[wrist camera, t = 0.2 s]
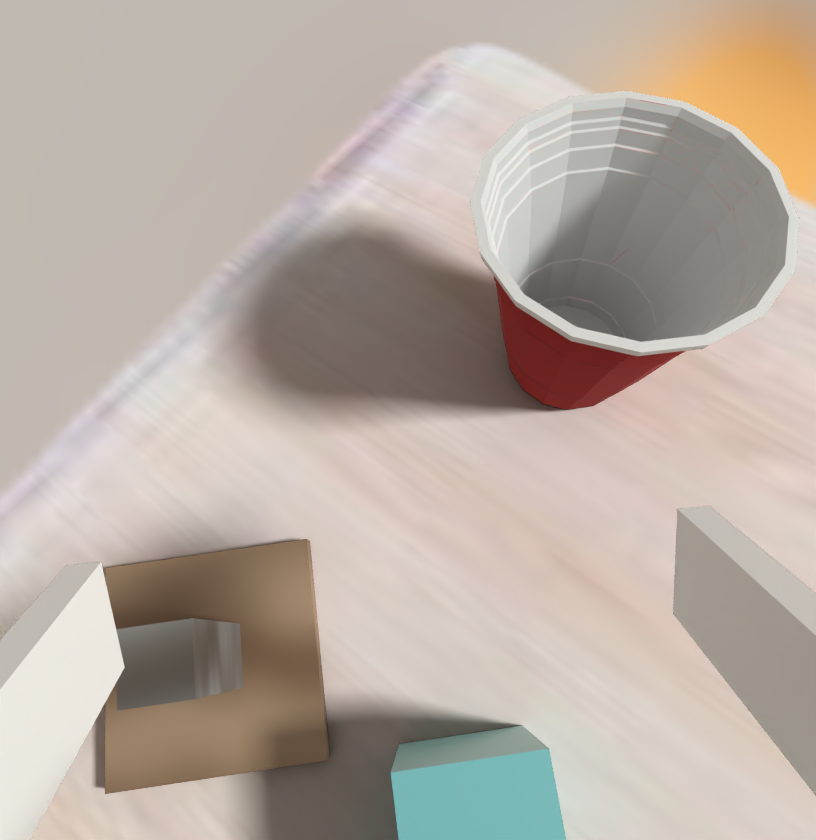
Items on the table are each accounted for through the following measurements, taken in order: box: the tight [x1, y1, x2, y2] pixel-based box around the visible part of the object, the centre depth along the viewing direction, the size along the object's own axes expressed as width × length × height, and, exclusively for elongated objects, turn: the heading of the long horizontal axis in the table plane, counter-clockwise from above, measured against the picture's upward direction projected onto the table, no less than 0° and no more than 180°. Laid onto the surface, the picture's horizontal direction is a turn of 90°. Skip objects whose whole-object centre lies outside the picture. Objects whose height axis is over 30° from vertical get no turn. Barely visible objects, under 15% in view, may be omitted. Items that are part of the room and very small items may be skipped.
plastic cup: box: [470, 91, 800, 410], centre depth 28 cm, size 11×11×12 cm
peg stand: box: [105, 539, 330, 794], centre depth 26 cm, size 9×9×7 cm
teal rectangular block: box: [391, 726, 566, 840], centre depth 24 cm, size 5×5×7 cm
